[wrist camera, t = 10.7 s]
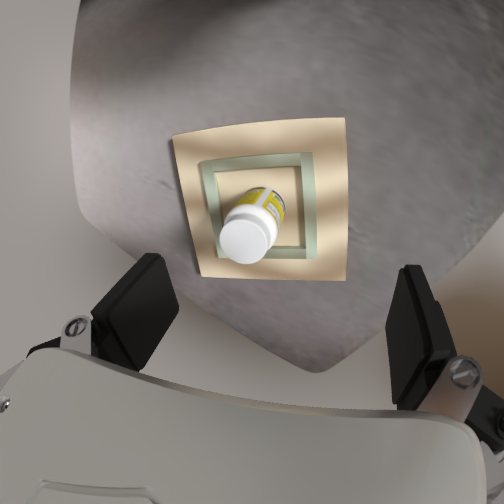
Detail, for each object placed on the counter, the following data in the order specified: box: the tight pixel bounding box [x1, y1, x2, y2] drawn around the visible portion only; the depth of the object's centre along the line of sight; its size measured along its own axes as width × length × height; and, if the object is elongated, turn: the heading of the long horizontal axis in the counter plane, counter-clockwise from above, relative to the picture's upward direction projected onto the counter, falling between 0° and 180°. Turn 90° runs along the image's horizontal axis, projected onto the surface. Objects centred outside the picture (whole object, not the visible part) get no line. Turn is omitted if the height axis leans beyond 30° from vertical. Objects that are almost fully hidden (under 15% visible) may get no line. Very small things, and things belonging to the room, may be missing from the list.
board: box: [172, 118, 348, 281], centre depth 29 cm, size 18×18×2 cm
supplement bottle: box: [219, 186, 285, 264], centre depth 25 cm, size 5×5×8 cm
